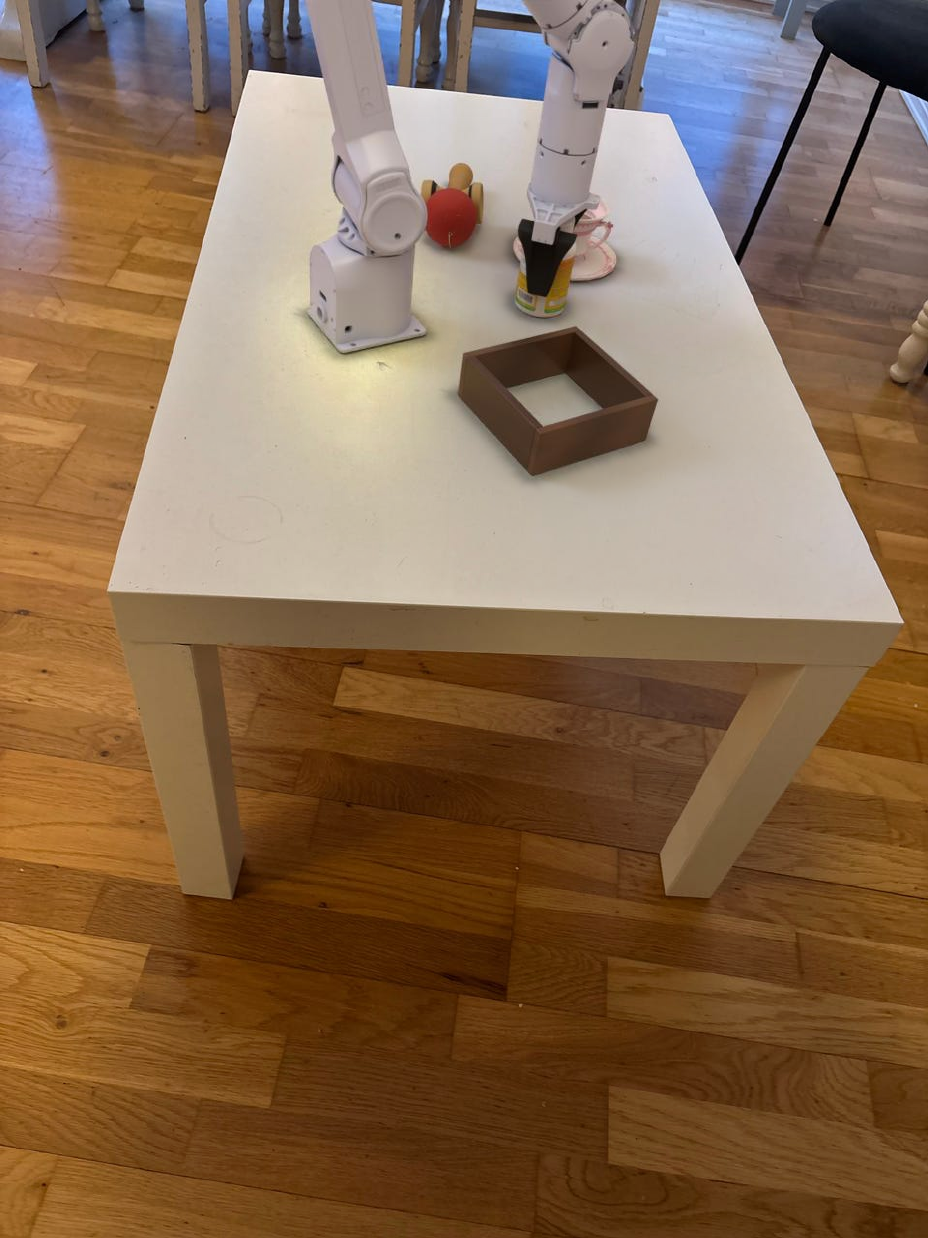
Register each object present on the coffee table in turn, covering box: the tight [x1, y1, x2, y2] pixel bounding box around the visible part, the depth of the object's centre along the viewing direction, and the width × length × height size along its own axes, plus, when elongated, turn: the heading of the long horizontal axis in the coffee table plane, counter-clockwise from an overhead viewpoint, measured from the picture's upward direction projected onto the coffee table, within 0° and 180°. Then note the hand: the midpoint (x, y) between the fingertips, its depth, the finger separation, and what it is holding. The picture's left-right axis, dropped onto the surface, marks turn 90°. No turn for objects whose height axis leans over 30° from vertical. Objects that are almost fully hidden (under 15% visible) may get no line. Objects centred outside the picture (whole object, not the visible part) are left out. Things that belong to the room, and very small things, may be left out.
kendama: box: [420, 162, 485, 248], centre depth 106 cm, size 8×6×18 cm
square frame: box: [457, 325, 659, 476], centre depth 82 cm, size 13×13×4 cm
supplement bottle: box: [514, 217, 576, 318], centre depth 93 cm, size 5×5×10 cm
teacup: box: [512, 197, 617, 282], centre depth 102 cm, size 12×12×6 cm
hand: (543, 279), depth 95 cm, fingers closed on supplement bottle, 5 cm apart
